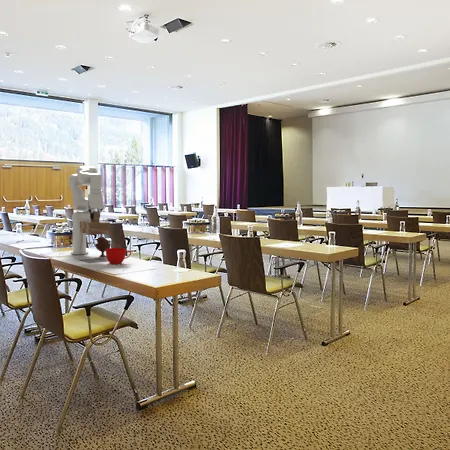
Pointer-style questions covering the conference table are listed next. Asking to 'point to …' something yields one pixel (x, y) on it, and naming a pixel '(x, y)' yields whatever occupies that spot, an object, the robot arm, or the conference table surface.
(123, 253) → the ceramic cup
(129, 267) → the conference table surface
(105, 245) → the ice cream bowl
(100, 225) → the brown block with knob
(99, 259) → the mat
